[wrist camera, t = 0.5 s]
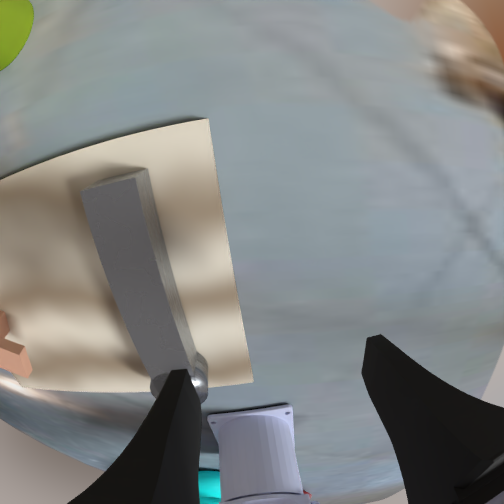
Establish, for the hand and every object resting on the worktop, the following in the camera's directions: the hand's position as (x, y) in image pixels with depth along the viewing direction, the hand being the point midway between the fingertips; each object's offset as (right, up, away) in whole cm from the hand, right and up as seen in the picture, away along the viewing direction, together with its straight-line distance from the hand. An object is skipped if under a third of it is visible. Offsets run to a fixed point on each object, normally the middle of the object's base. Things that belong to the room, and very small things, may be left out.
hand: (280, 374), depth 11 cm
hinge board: (-14, +1, +8) cm, 16 cm away
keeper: (-20, -1, +8) cm, 22 cm away
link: (-7, +2, +8) cm, 11 cm away
